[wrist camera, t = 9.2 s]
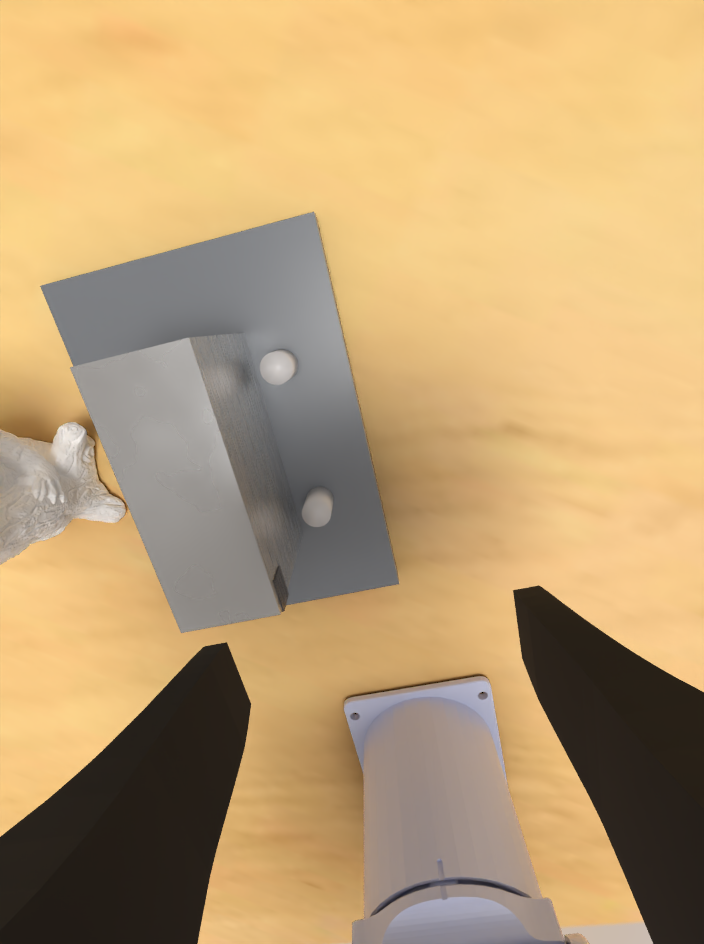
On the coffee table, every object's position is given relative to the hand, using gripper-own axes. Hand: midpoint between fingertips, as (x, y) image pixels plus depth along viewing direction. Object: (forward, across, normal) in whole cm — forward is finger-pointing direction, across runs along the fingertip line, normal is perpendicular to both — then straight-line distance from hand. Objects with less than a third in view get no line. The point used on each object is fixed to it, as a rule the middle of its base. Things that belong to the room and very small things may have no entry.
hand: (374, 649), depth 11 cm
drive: (+10, +5, -4) cm, 11 cm away
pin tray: (+10, +5, -4) cm, 12 cm away
